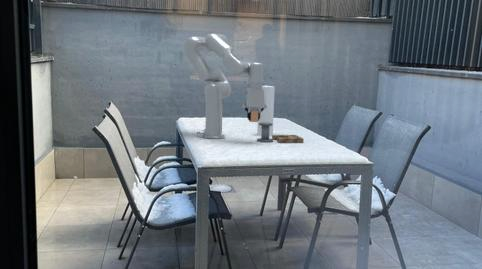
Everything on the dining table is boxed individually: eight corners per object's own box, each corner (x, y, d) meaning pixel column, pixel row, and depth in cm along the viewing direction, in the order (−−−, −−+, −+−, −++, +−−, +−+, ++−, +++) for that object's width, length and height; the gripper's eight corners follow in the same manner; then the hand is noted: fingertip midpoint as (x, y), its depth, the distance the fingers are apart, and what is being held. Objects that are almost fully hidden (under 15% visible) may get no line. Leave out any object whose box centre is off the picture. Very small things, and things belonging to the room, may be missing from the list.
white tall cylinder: (273, 136, 273) (275, 86, 269) (257, 136, 273) (259, 85, 269) (272, 134, 282) (274, 85, 278) (257, 133, 282) (258, 85, 278)
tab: (250, 121, 244) (251, 110, 243) (248, 120, 248) (249, 109, 247) (257, 122, 245) (258, 110, 244) (256, 121, 249) (256, 110, 248)
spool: (259, 142, 249) (259, 124, 248) (255, 139, 258) (255, 122, 257) (275, 142, 251) (275, 124, 250) (270, 139, 260) (271, 122, 258)
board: (279, 143, 249) (279, 138, 249) (271, 139, 263) (272, 134, 262) (303, 142, 252) (303, 138, 252) (295, 139, 266) (295, 134, 265)
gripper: (241, 85, 238) (239, 120, 241) (272, 87, 241) (270, 121, 244) (238, 85, 245) (236, 118, 248) (268, 86, 249) (266, 119, 251)
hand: (253, 119), depth 246 cm, fingers closed on tab, 4 cm apart
